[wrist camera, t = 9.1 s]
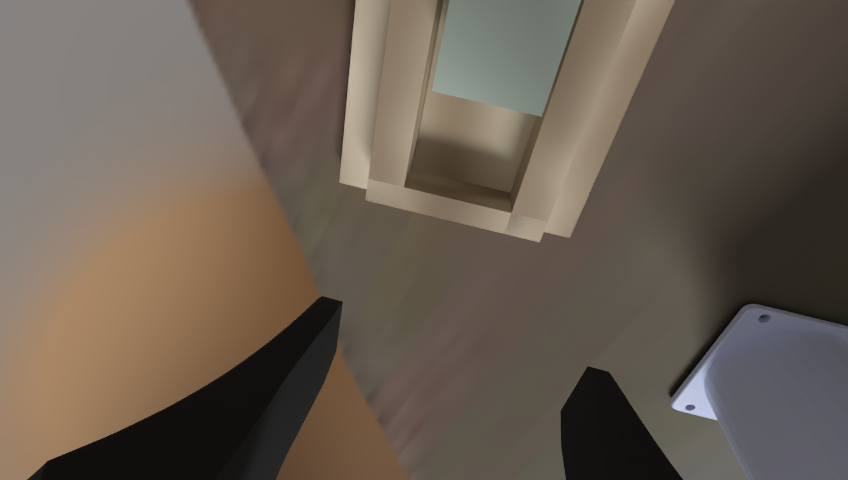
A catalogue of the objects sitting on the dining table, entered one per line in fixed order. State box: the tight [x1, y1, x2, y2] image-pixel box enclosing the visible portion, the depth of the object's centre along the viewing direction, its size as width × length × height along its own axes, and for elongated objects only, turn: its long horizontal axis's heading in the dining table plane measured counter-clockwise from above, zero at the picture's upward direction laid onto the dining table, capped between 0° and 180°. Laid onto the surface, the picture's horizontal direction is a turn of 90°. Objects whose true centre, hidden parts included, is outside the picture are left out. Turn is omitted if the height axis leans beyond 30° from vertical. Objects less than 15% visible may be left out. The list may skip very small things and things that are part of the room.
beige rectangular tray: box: [339, 0, 675, 242], centre depth 15 cm, size 11×17×3 cm, turn 169°
